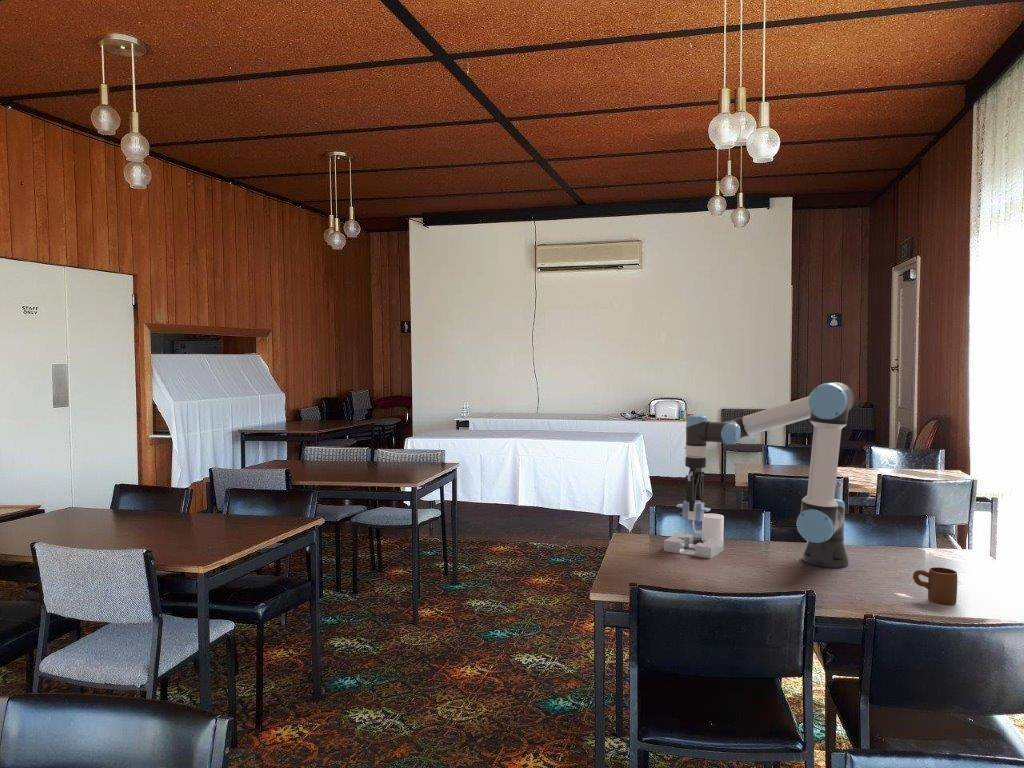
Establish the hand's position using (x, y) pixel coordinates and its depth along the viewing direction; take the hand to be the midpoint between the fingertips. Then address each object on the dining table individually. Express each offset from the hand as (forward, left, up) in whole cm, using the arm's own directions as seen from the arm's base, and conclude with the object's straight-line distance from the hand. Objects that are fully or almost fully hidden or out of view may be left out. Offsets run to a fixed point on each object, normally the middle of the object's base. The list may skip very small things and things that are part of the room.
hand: (694, 518), depth 281 cm
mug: (-80, +12, -13) cm, 82 cm away
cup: (+1, -18, -13) cm, 22 cm away
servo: (0, 0, 0) cm, 1 cm away
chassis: (0, 0, -12) cm, 12 cm away
